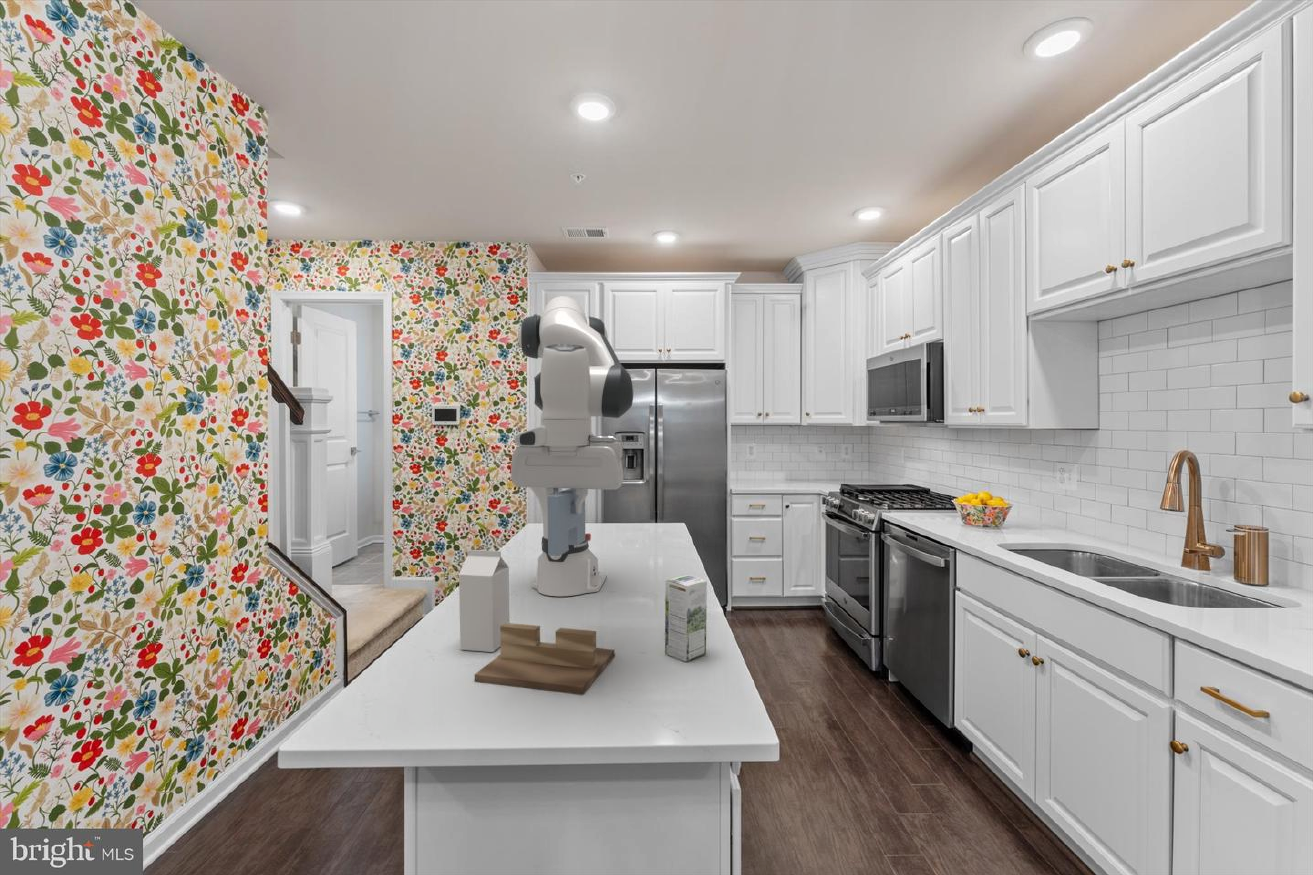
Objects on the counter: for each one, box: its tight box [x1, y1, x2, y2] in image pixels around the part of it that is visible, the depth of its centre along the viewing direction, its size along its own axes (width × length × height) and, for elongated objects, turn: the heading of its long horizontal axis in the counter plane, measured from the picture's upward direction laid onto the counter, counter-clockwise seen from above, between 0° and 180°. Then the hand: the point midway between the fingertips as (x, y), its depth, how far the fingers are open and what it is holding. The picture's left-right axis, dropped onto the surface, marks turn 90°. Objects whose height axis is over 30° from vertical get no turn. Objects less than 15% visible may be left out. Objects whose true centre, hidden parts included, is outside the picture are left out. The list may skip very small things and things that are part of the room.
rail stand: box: [474, 622, 616, 695], centre depth 105 cm, size 16×20×7 cm
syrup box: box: [664, 574, 708, 663], centre depth 111 cm, size 6×6×14 cm
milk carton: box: [458, 549, 511, 653], centre depth 116 cm, size 7×7×19 cm
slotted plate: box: [547, 488, 586, 556], centre depth 103 cm, size 12×2×10 cm, turn 166°
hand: (567, 513), depth 103 cm, fingers closed on slotted plate, 2 cm apart
